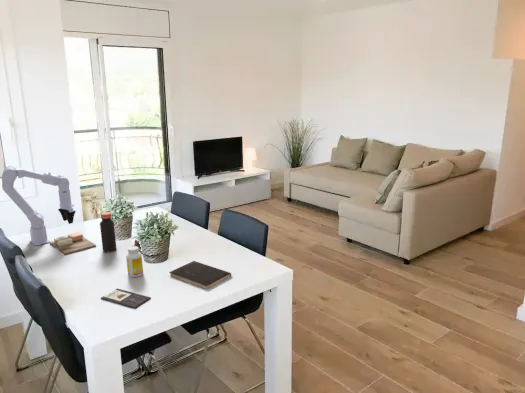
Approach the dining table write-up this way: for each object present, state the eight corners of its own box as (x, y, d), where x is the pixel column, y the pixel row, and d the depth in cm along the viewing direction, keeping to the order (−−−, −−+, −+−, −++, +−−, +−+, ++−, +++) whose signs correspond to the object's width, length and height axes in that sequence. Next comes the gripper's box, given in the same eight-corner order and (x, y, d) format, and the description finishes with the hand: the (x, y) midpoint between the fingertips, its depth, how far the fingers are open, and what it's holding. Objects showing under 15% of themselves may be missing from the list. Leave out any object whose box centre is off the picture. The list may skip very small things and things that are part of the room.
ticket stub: (67, 238, 237) (67, 234, 236) (78, 236, 241) (78, 232, 240) (72, 241, 233) (71, 237, 232) (83, 238, 237) (82, 234, 236)
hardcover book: (206, 290, 180) (206, 285, 180) (169, 276, 194) (169, 272, 193) (231, 277, 193) (231, 272, 192) (195, 264, 206) (194, 260, 206)
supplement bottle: (146, 272, 197) (143, 246, 194) (137, 278, 191) (135, 251, 188) (133, 270, 199) (131, 244, 196) (124, 276, 193) (122, 249, 190)
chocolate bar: (134, 307, 165) (100, 297, 173) (135, 309, 165) (101, 299, 173) (150, 297, 173) (117, 288, 181) (150, 299, 173) (117, 290, 181)
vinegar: (107, 253, 220) (103, 216, 214) (100, 250, 224) (96, 213, 219) (119, 249, 225) (115, 213, 219) (112, 246, 229) (108, 210, 224)
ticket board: (50, 243, 234) (49, 237, 233) (79, 236, 244) (78, 230, 244) (65, 254, 218) (64, 248, 218) (96, 246, 229) (95, 240, 228)
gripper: (77, 199, 235) (80, 223, 238) (67, 194, 245) (70, 217, 248) (64, 201, 230) (67, 225, 233) (54, 197, 240) (57, 220, 244)
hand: (68, 221), depth 241 cm, fingers open, 7 cm apart
